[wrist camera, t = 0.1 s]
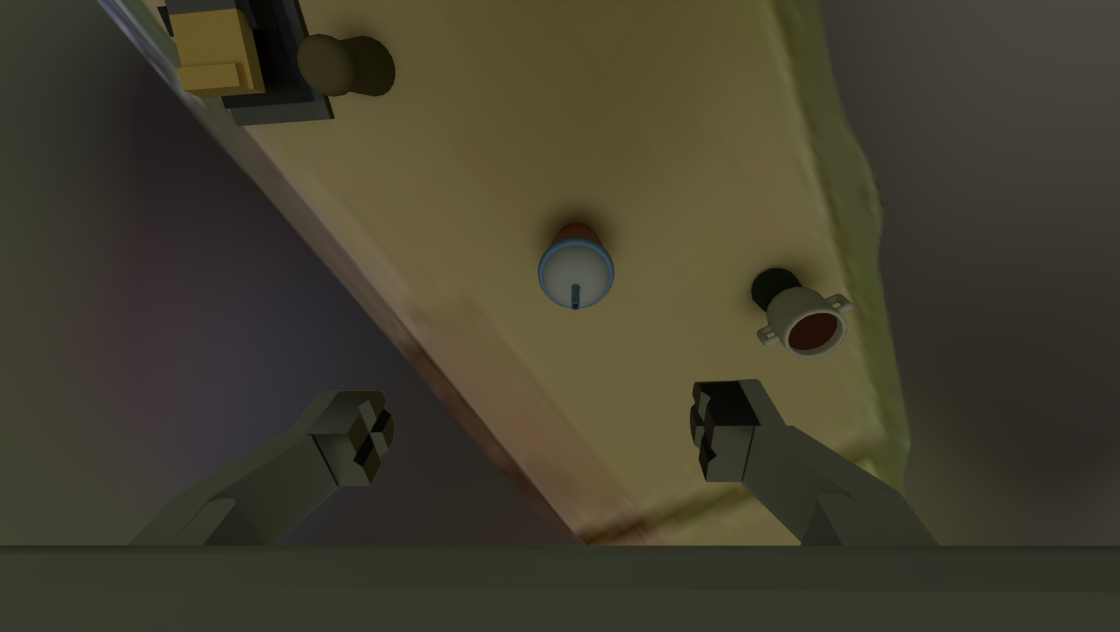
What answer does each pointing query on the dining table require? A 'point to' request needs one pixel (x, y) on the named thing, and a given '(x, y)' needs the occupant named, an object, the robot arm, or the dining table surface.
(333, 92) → the dark tall tapered piece
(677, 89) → the dining table surface
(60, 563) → the robot arm
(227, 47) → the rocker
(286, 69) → the grey box with tabs
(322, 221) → the dining table surface
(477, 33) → the dining table surface
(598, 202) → the dining table surface
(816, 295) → the grey trophy cup
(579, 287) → the cup with straw
